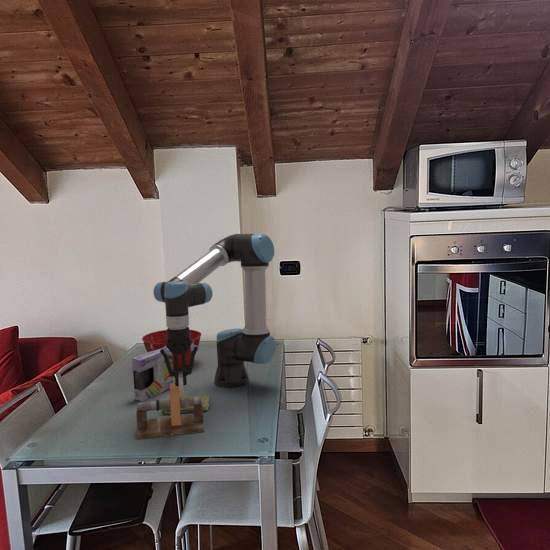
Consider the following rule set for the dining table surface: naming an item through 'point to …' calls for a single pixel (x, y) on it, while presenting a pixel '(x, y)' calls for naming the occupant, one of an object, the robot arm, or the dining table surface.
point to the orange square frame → (175, 404)
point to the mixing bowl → (160, 339)
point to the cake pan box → (151, 374)
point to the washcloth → (191, 409)
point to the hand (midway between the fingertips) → (181, 394)
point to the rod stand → (168, 418)
